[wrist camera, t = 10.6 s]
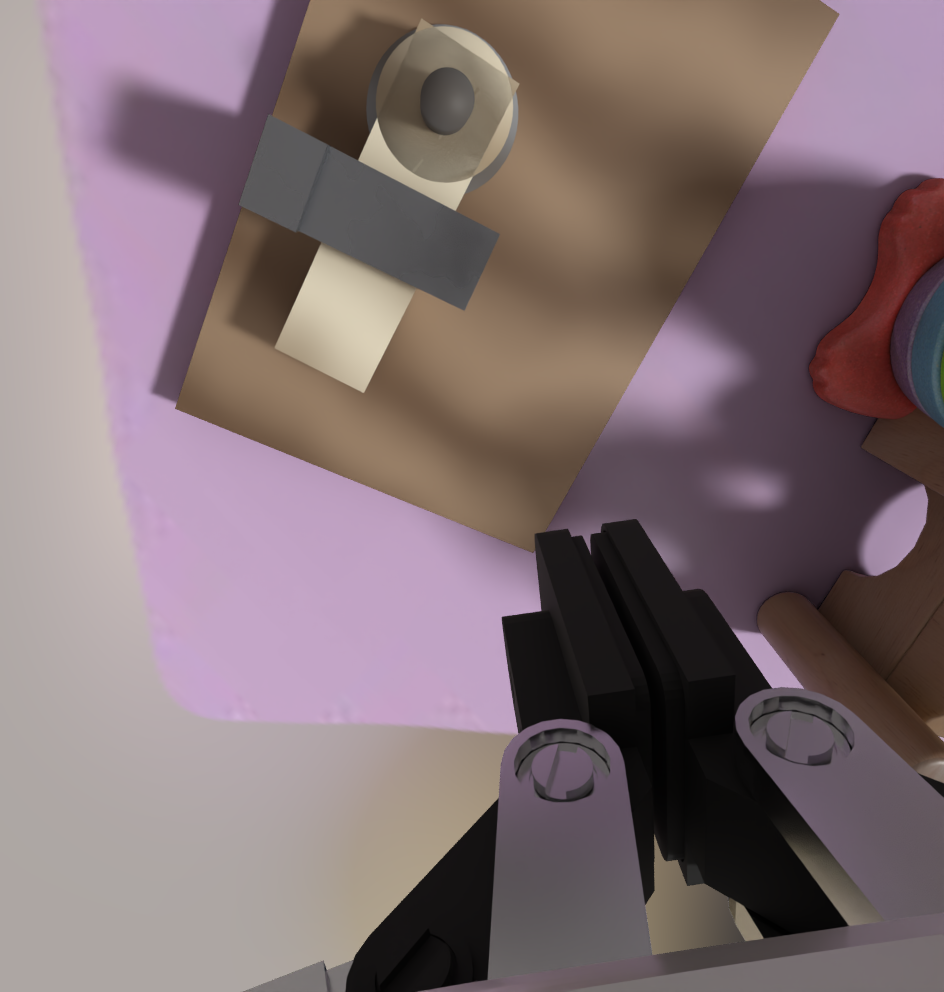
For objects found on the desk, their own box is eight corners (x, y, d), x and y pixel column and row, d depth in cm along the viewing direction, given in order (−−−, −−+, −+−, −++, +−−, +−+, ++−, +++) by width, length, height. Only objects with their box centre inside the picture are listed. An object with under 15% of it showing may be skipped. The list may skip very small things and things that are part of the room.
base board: (405, -258, 24) (404, -289, 23) (819, 22, 28) (842, 12, 27) (185, 399, 33) (173, 409, 31) (528, 539, 37) (533, 554, 35)
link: (415, 9, 26) (414, -27, 22) (530, 85, 27) (550, 65, 23) (272, 333, 30) (248, 355, 26) (377, 386, 31) (370, 415, 27)
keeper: (296, 129, 27) (268, 114, 22) (488, 228, 29) (502, 235, 24) (270, 203, 28) (238, 204, 23) (457, 294, 30) (465, 314, 25)
